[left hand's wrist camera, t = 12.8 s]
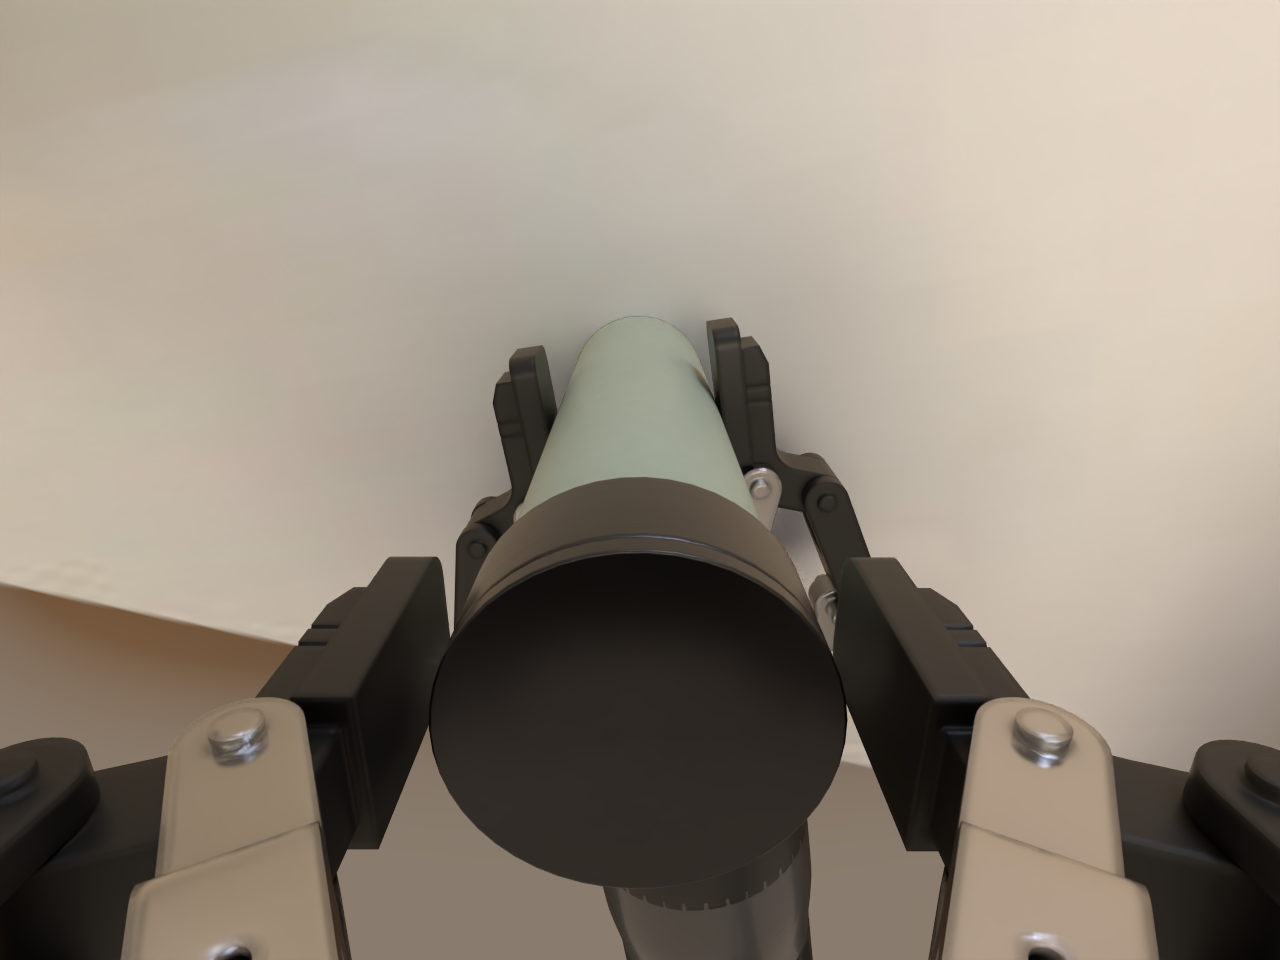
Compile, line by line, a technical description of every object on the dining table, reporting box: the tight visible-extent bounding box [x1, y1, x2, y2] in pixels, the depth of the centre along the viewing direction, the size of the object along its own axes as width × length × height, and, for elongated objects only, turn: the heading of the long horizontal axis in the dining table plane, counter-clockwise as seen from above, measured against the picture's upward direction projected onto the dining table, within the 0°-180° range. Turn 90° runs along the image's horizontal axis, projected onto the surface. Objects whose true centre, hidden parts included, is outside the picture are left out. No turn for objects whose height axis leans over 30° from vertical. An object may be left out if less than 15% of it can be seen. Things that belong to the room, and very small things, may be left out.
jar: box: [517, 316, 760, 521], centre depth 18 cm, size 5×5×18 cm
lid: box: [429, 477, 847, 889], centre depth 10 cm, size 5×5×2 cm
